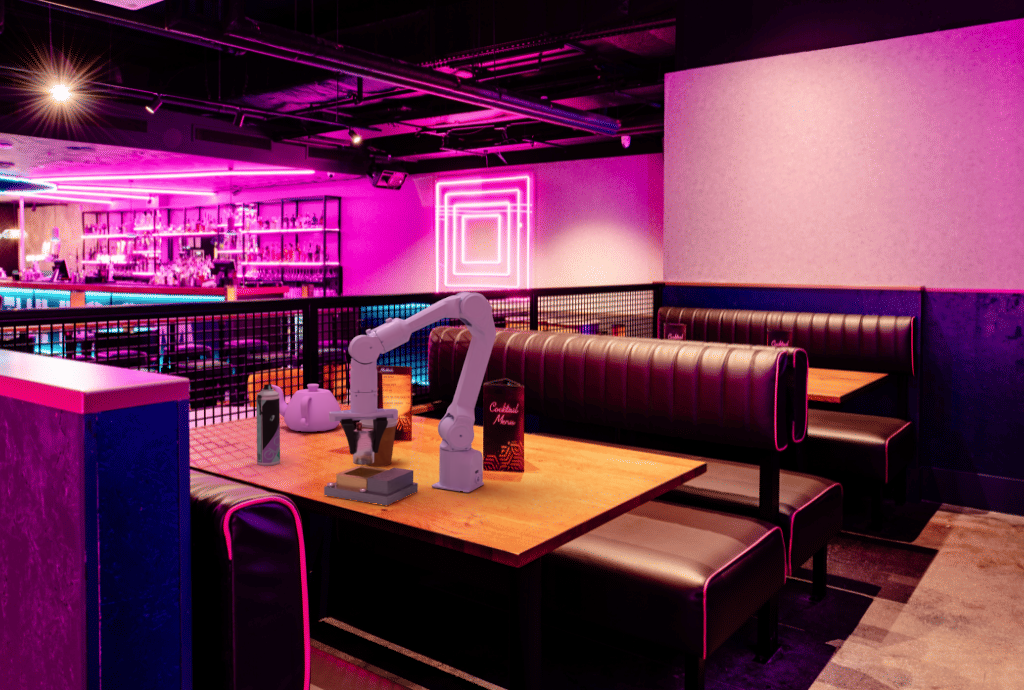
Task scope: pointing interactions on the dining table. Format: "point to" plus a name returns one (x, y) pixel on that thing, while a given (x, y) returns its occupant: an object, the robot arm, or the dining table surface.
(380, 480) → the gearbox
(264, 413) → the spray can
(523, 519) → the dining table surface
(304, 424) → the teapot
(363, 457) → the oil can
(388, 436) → the disposable coffee cup
